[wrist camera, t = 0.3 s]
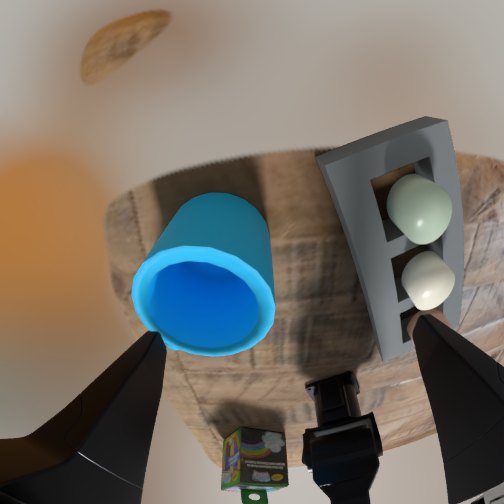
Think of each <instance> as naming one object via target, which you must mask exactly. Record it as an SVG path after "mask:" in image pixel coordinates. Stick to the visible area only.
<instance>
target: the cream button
mask: <svg viewBox="0 0 504 504" xmlns="http://www.w3.org/2000/svg"><path fill="white" fill-rule="evenodd" d="M401 282H402V285H403V287H404V289H405V290H406V292H407V293H408V295H409V297H410V298H411V300H412V301H413V303H414V305H415V306H416V307H417V308H418V309H420V310H430V309H433V308H435V307H437V306H438V305H440V304H441V303H442V302H443V301H444V300H445V299H446V298H447V297H448V296H449V294H450V293H451V291H452V289H453V287H454V283H455V275H454V273H453V271H452V270H451V269H450V268H449V267H448V265H447V264H446V263H445V262H444V261H443V260H442V259H441V258H440V257H439V256H438V255H437V254H436V253H435V252H433V251H424V252H421V253H419V254H417V255H416V256H414V257H413V258H412V259H411V260H410V261H409V262H408V264H407V265H406V267H405V268H404V270H403V273H402V278H401Z"/></svg>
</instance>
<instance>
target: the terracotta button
mask: <svg viewBox="0 0 504 504" xmlns="http://www.w3.org/2000/svg"><path fill="white" fill-rule="evenodd" d="M423 314H431V315H433V316H434V317H436V318H437V319H438V320H440V321H441V322H443V323H444V324H446V325H447V326H449V327H450V328H451V325H450V324H449V322H448V321H447V319H446V318H445V316H444V314H443V313H442V311H441V310H440V308H439V307H435V308H433V309H430V310H420V311H419V312H418V313H416V314H415V315H414V316H413V317H412V319H411V320H410V322H409V323H408V326H407V332H408V334H409V336H410V338H411V340H412V342H413V344H414V341H413V337H412V332H413V329H414V327H415V324H416V322H417V319H418V317H419V316H420V315H423ZM414 346H415V345H414Z"/></svg>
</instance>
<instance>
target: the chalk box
mask: <svg viewBox="0 0 504 504" xmlns="http://www.w3.org/2000/svg"><path fill="white" fill-rule="evenodd" d="M287 468H288V467H287V452H286V438H285V433H276V432H269V431H263V430H257V429H251V428H246V427H240V428H239V429H238V430H237V431H235V432H234V433H233V434H231V435H230V436H229V437H228V438H226V439H225V440H224V441H223V458H222V481H221V490H225V491H236V492H241V498H242V503H243V504H268V498H267V492H270V491H276V490H279V489H280V488H284V487H287V486H288V485H289V483H288V469H287ZM250 494H258V495H259V496H260V499H259V500H257V501H256V500H251V499H250V498H249V495H250Z"/></svg>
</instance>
